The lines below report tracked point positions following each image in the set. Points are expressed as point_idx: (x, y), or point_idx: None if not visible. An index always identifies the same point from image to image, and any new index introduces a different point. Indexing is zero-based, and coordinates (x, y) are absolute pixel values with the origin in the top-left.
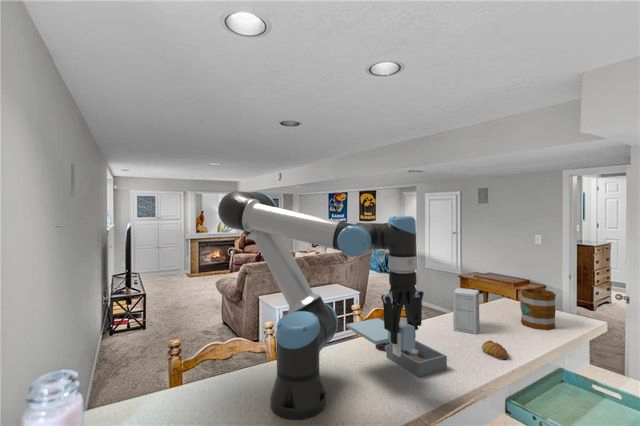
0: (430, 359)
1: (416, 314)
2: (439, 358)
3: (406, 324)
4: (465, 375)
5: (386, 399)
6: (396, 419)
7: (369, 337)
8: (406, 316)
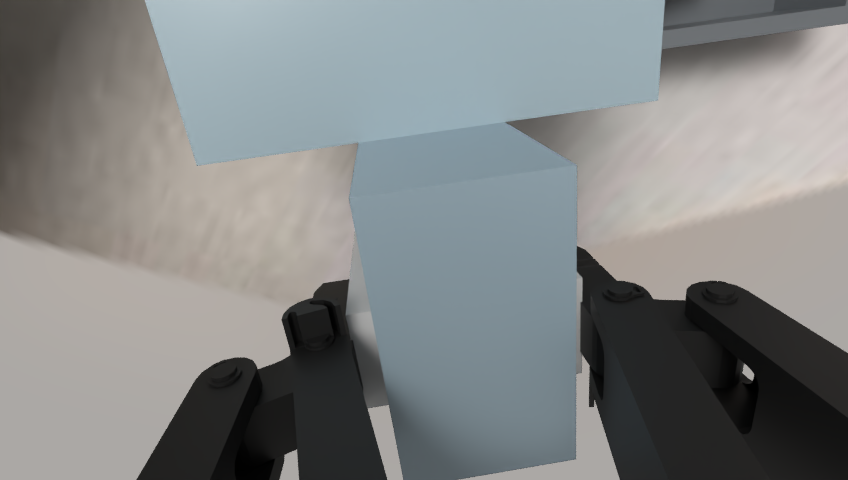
0: (725, 33)
1: (781, 457)
2: (790, 30)
3: (539, 376)
4: (809, 102)
5: (317, 169)
6: (294, 300)
7: (157, 33)
8: (625, 390)
